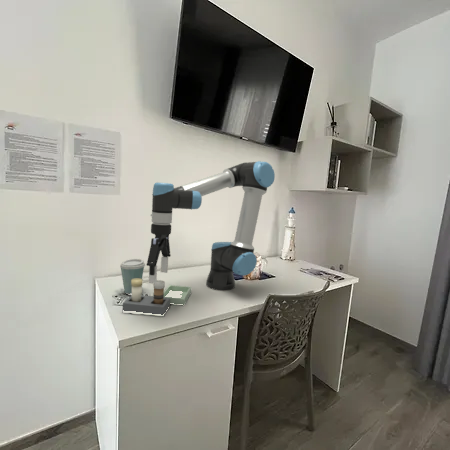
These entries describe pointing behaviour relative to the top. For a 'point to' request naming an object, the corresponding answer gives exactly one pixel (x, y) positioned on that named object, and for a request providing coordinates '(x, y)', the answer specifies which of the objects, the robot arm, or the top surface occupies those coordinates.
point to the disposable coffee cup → (131, 272)
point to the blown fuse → (159, 292)
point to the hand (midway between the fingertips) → (158, 277)
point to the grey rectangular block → (146, 305)
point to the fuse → (136, 289)
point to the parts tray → (185, 294)
